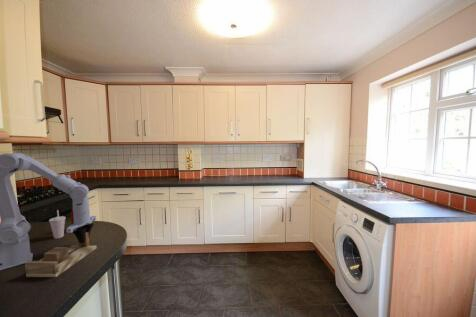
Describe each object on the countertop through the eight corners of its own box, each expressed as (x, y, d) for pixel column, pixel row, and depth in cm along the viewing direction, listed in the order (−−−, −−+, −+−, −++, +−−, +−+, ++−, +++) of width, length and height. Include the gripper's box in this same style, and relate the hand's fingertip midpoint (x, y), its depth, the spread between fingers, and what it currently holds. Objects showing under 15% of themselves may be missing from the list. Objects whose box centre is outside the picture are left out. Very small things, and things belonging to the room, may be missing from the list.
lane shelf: (56, 277, 73) (54, 263, 73) (26, 276, 74) (24, 262, 73) (96, 248, 93) (95, 237, 93) (73, 248, 93) (72, 237, 93)
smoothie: (59, 239, 102) (57, 212, 101) (46, 239, 102) (44, 212, 101) (70, 233, 108) (68, 208, 107) (58, 234, 109) (56, 208, 107)
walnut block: (57, 266, 77) (56, 251, 77) (44, 266, 77) (43, 251, 77) (90, 244, 94) (89, 231, 93) (80, 244, 94) (79, 232, 93)
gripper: (76, 218, 84) (79, 249, 85) (101, 206, 99) (103, 234, 100) (60, 218, 85) (63, 249, 86) (87, 207, 99) (89, 234, 100)
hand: (83, 241), depth 93 cm, fingers closed on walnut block, 2 cm apart
